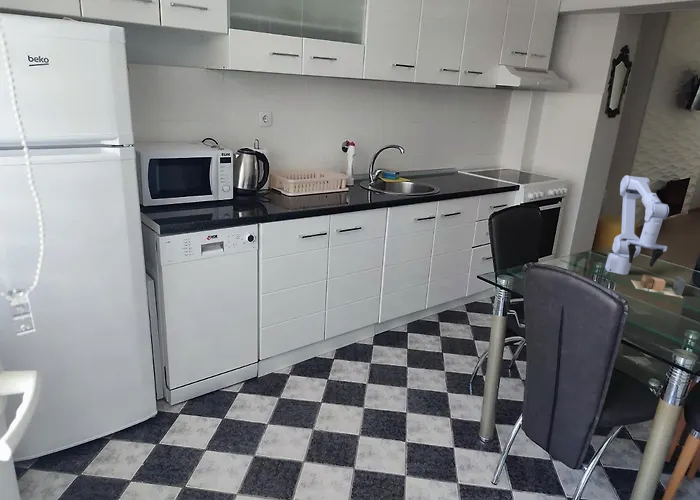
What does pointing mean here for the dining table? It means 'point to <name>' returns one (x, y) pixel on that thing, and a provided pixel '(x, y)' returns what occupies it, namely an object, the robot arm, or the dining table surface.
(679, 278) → the grey flat block
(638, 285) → the gauge board
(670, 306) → the dining table surface
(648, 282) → the brown box with peg
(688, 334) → the dining table surface
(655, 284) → the peach matte cube
